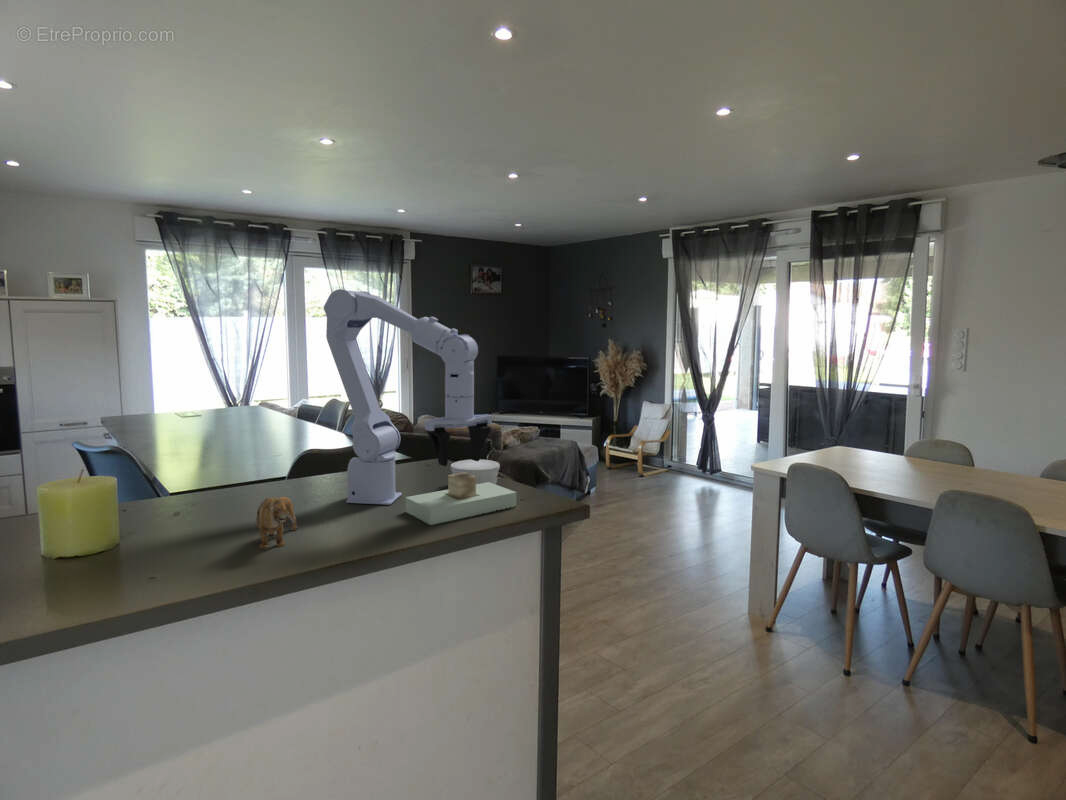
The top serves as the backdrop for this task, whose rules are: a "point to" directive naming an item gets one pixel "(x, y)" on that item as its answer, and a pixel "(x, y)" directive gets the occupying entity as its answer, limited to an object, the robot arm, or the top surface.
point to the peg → (461, 486)
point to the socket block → (459, 504)
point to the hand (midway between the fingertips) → (459, 462)
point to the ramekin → (478, 469)
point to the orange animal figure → (275, 518)
